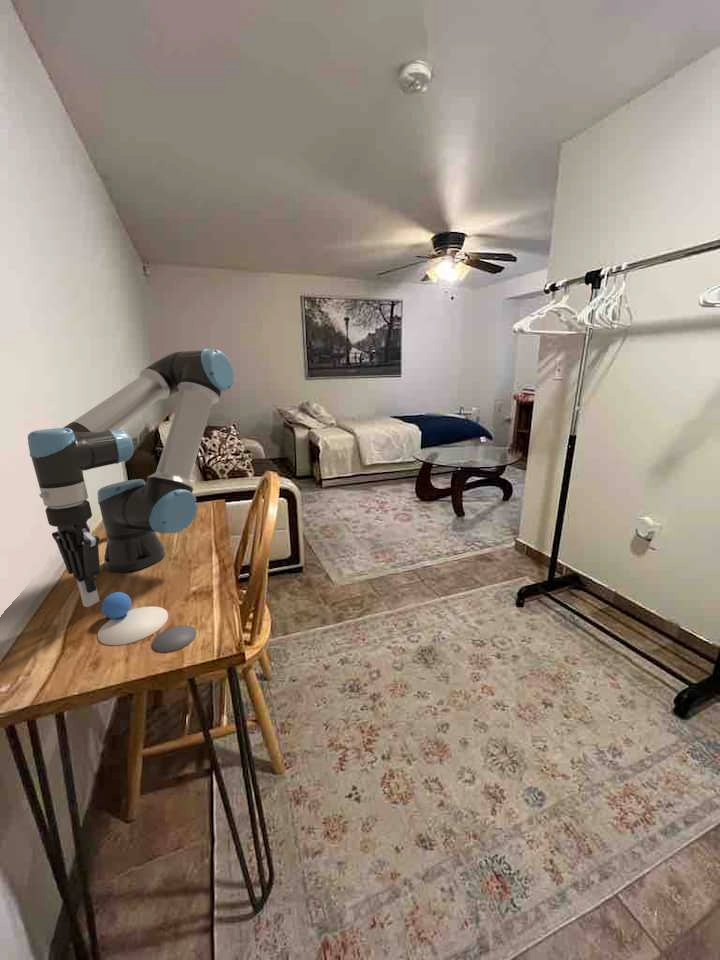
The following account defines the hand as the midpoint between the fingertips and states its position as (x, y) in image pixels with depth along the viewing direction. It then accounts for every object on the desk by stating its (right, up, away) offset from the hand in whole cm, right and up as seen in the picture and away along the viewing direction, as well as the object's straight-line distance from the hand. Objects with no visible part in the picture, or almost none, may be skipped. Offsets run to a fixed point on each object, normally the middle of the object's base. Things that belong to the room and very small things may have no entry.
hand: (91, 603), depth 88 cm
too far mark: (+24, -4, -10) cm, 26 cm away
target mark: (+13, -3, -5) cm, 14 cm away
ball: (+7, 0, -3) cm, 8 cm away
